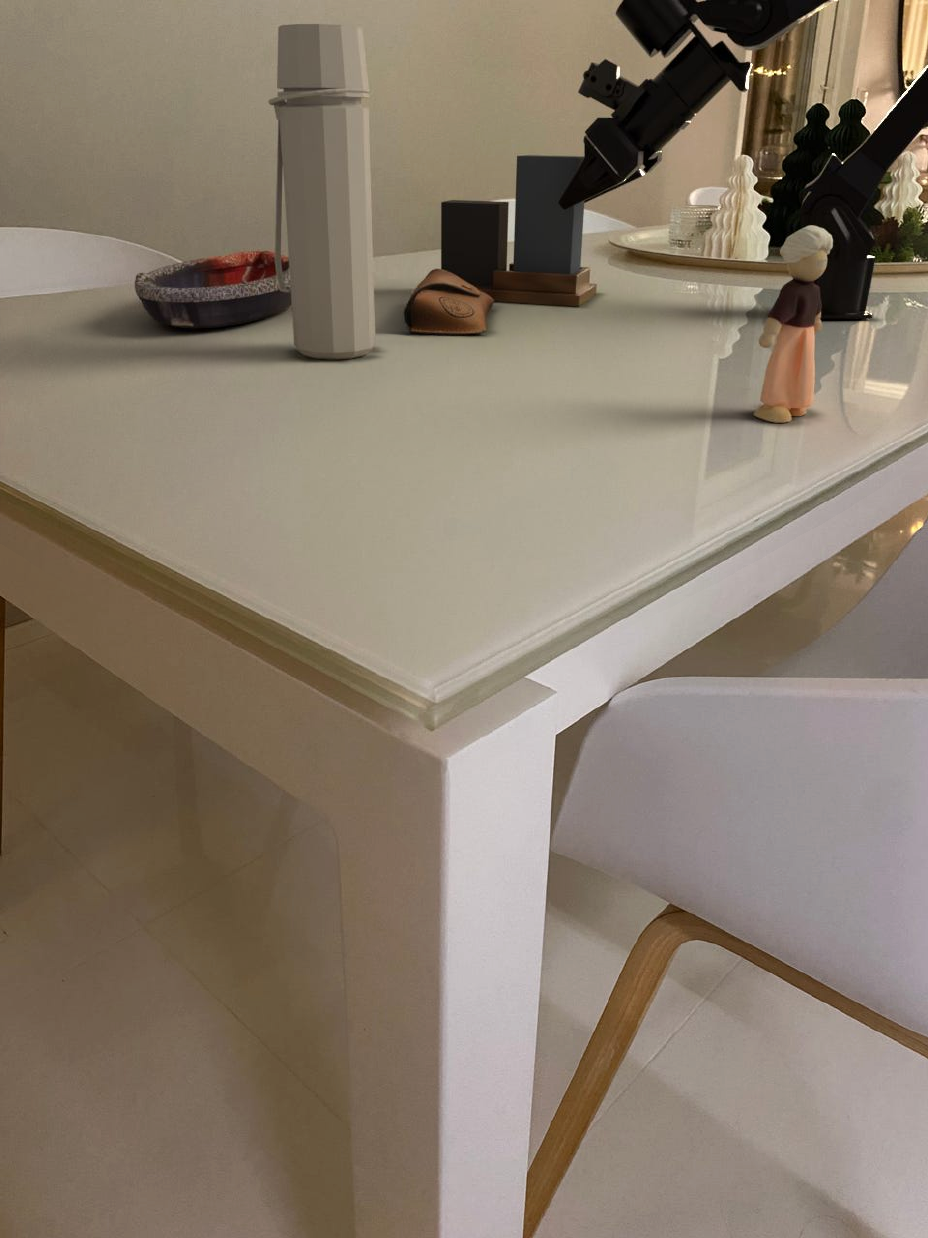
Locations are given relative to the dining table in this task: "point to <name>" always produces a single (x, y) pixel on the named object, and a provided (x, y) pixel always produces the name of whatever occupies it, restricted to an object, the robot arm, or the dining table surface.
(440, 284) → the sunglasses case
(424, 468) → the dining table surface
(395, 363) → the dining table surface
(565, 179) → the back pad
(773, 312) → the grandmother figurine
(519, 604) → the dining table surface
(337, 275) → the water bottle
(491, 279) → the pad cradle
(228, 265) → the dish
